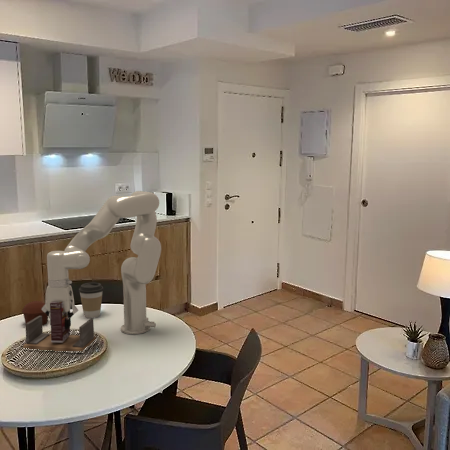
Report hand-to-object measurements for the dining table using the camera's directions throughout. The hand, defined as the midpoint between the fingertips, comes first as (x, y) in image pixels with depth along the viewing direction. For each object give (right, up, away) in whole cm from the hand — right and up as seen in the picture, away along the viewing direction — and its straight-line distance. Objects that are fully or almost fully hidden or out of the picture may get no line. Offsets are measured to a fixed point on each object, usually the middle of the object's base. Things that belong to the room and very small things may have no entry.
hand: (60, 327), depth 186 cm
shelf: (0, -7, +1) cm, 8 cm away
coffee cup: (+2, -3, +37) cm, 37 cm away
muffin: (-20, -4, +26) cm, 33 cm away
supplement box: (0, -5, +1) cm, 5 cm away
